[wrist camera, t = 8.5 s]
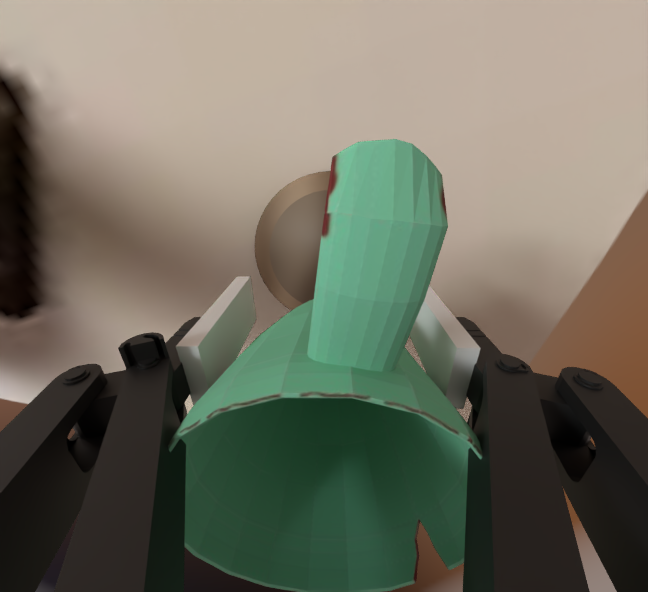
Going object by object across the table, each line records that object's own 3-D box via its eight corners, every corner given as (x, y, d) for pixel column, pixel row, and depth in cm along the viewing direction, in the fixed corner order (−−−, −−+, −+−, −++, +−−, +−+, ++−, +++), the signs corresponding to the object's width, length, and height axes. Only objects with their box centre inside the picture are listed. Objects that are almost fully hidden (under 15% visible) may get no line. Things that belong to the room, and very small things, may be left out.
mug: (389, 398, 19) (439, 607, 10) (249, 381, 19) (171, 580, 10) (460, 169, 13) (770, 175, 4) (252, 140, 12) (37, 69, 3)
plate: (265, 316, 27) (263, 321, 26) (247, 172, 21) (244, 172, 20) (397, 317, 26) (400, 322, 25) (415, 169, 21) (419, 169, 20)
